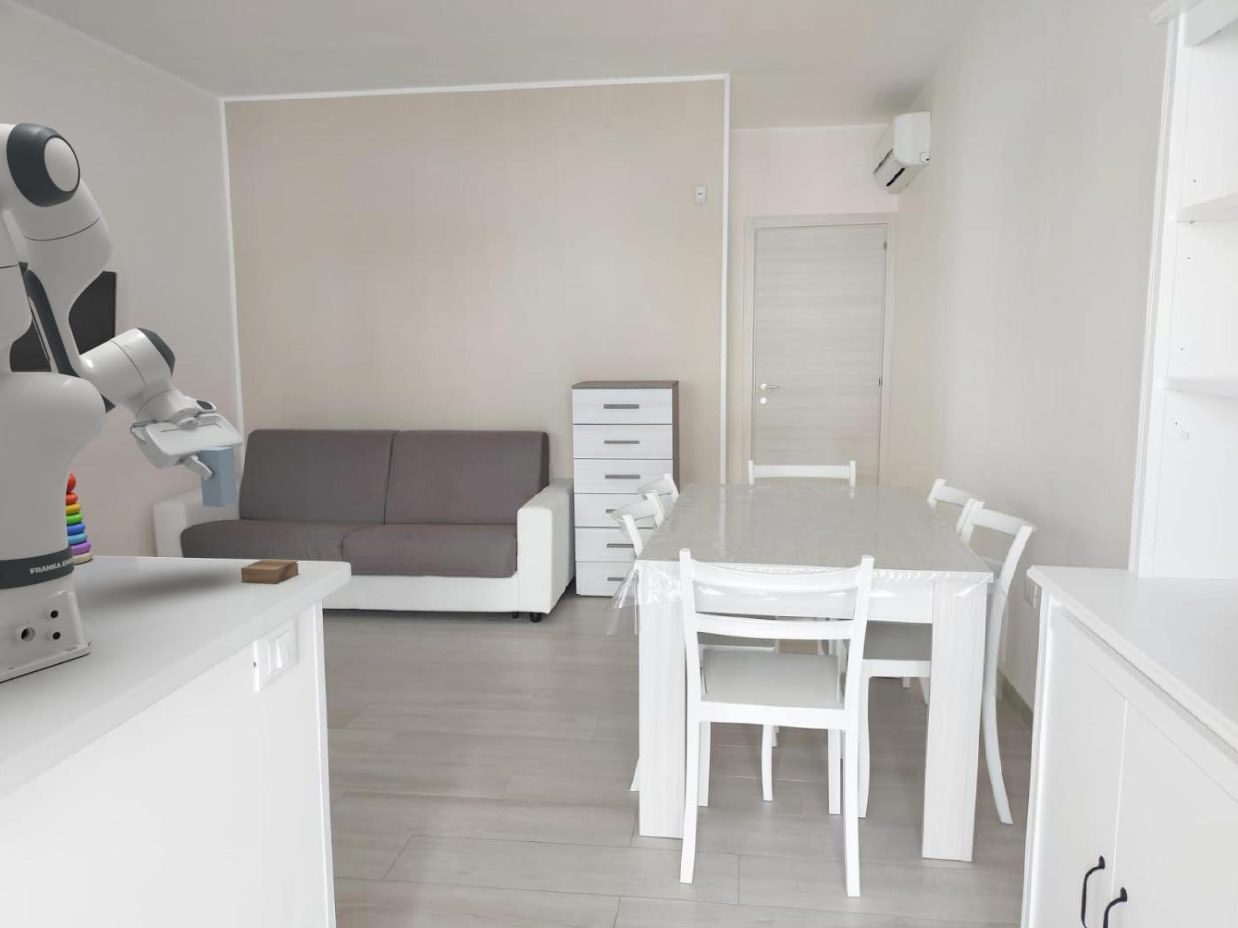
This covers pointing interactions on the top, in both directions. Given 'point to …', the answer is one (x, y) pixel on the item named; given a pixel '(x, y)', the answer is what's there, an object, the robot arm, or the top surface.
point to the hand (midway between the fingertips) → (221, 474)
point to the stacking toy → (76, 526)
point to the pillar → (219, 477)
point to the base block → (269, 571)
